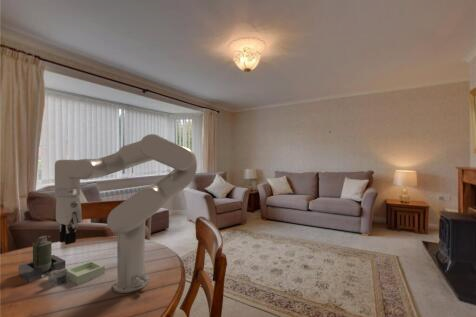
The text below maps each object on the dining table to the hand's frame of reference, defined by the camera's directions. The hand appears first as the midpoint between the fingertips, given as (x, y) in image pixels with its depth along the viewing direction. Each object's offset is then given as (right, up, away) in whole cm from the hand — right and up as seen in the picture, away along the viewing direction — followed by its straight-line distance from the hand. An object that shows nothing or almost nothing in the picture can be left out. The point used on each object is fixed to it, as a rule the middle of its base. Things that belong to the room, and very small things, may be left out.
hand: (67, 241), depth 84 cm
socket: (-20, -17, +12) cm, 29 cm away
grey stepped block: (-8, -17, +5) cm, 20 cm away
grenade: (-20, -18, +12) cm, 29 cm away
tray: (0, -17, +9) cm, 20 cm away
